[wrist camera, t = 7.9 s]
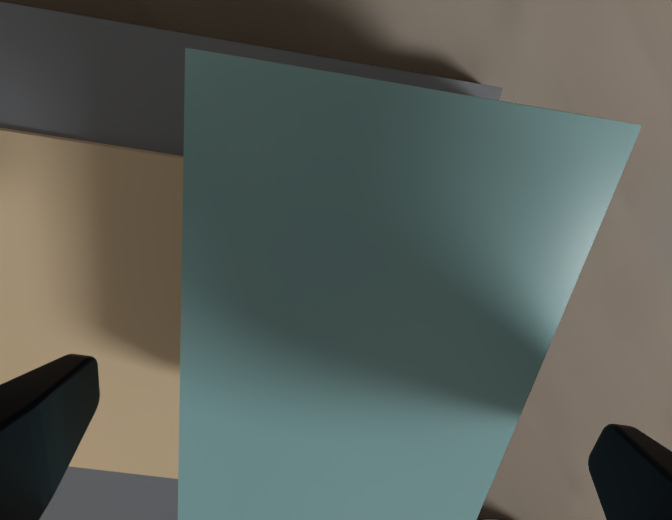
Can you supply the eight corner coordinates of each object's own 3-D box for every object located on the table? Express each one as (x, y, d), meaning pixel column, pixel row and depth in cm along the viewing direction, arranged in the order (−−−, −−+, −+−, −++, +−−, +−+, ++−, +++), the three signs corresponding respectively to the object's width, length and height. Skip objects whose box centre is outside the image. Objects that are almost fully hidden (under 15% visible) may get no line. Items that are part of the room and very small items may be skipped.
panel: (360, 541, 20) (365, 645, 17) (-133, 486, 19) (-245, 585, 15) (484, 85, 12) (545, 91, 9) (-342, -56, 11) (-673, -118, 8)
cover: (432, 472, 13) (454, 571, 10) (210, 445, 13) (177, 541, 10) (554, 110, 9) (641, 125, 6) (231, 54, 9) (184, 47, 6)
